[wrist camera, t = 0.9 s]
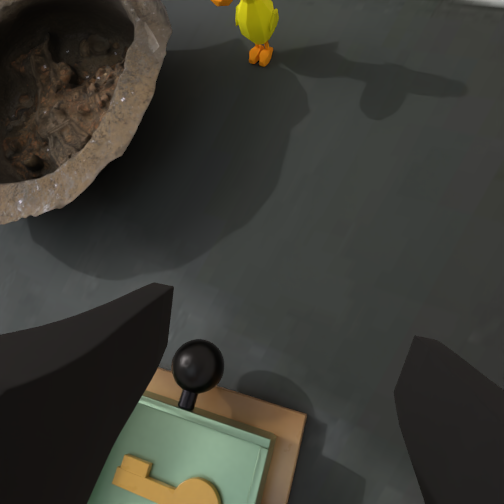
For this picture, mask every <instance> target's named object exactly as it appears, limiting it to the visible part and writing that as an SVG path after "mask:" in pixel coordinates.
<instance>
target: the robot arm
mask: <svg viewBox="0 0 504 504" xmlns="http://www.w3.org/2000/svg"><path fill="white" fill-rule="evenodd" d="M173 290H174V287H173V286H168V285H164V284H159V283H151V284H149V285H146V286H144V287H142V288H140V289H137V290H135V291H133V292H131V293H129V294H127V295H124V296H122V297H120V298H118V299H115V300H113V301H111V302H109V303H106V304H104V305H101V306H99V307H96V308H94V309H91V310H89V311H86V312H84V313H81V314H78V315H76V316H73V317H70V318H67V319H63V320H60V321H57V322H53V323H50V324H46V325H43V326H39V327H35V328H30V329H26V330H21V331H16V332H12V333H7V334H2V335H0V504H87V503H88V500H89V498H90V496H91V493H92V491H93V489H94V487H95V484H96V482H97V480H98V478H99V476H100V473H101V471H102V469H103V467H104V465H105V462H106V460H107V458H108V456H109V454H110V452H111V449H112V447H113V446H114V444H115V442H116V440H117V438H118V436H119V434H120V433H121V431H122V429H123V427H124V426H125V424H126V422H127V421H128V419H129V417H130V416H131V414H132V412H133V410H134V409H135V407H136V405H137V404H138V402H139V400H140V399H141V397H142V395H143V394H144V392H145V390H146V388H147V387H148V385H149V383H150V381H151V380H152V378H153V376H154V374H155V373H156V371H157V368H158V366H159V364H160V361H161V359H162V356H163V354H164V351H165V349H166V347H167V343H168V334H169V325H170V316H171V307H172V299H173ZM394 397H395V403H396V410H397V415H398V420H399V425H400V428H401V431H402V434H403V437H404V440H405V444H406V447H407V450H408V453H409V456H410V459H411V462H412V465H413V468H414V471H415V474H416V477H417V480H418V483H419V486H420V489H421V492H422V495H423V498H424V501H425V504H504V390H502V389H501V388H500V387H498V386H497V385H496V384H495V383H493V382H492V381H491V380H489V379H488V378H487V377H485V376H484V375H483V374H482V373H480V372H479V371H478V370H476V369H475V368H474V367H473V366H471V365H470V364H469V363H467V362H466V361H465V360H464V359H462V358H461V357H460V356H458V355H457V354H456V353H454V352H453V351H452V350H450V349H449V348H448V347H446V346H445V345H443V344H442V343H440V342H438V341H437V340H434V339H429V338H424V337H419V336H414V339H413V342H412V344H411V347H410V350H409V352H408V355H407V358H406V360H405V363H404V366H403V368H402V371H401V374H400V376H399V379H398V382H397V384H396V387H395V390H394Z"/></svg>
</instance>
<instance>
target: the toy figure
mask: <svg viewBox="0 0 504 504" xmlns="http://www.w3.org/2000/svg"><path fill="white" fill-rule="evenodd" d="M211 1H212V2H213V3H214V4H215V5H216V6H228V5H230V3H231V2H232V1H233V0H211ZM278 20H279V16H278V9H274V8H273V3H272V1H271V0H241V1H240V4H239V5H238V6H236V19H235V21H236V26H237V25H238V24H239V27H240V31H241V34H242V35H243V36H245V37H246V38H248V39H249V40H251V41H252V42H254V43H255V47H254V48H252V49H251V50H250V52H249V56H250V57H249V62H250V63H251V64H255V63H256V62H257V61H258V60H259V59H260V60H259V65H260V66H264V67H265V66H266V65H267V64H268V63H269V62H270V60H271V56H272V52H273V48H272V47H269V43H268V40H269V39H270V37H271V36H272V34H273V32H274V30H275V28H276V26H277V22H278ZM259 44H264V45H265V49H264V46H262V45H259Z"/></svg>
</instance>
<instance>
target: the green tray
mask: <svg viewBox="0 0 504 504" xmlns="http://www.w3.org/2000/svg"><path fill="white" fill-rule="evenodd" d="M223 372H224V359H223V356H222V354H221V352H220V350H219V349H218V348H217V347H216V346H215V345H214V344H213V343H211V342H209V341H206V340H201V339H196V340H191V341H189V342H187V343H185V344H183V345H182V346H181V347H180V348H179V349H178V350H177V352H176V353H175V355H174V357H173V360H172V375H173V378H174V380H175V382H176V383H177V385H178V386H179V387H180V388H182V392H181V396H180V399H179V401H177V400H174V399H171V398H168V397H165V396H162V395H159V394H156V393H153V392H150V391H147V390H145V392H144V394H143V395H142V397H141V399H140V400H139V402H138V404H137V405H136V407H135V409H134V410H133V412H132V414H131V416H130V417H129V419H128V421H127V422H126V424H125V426H124V427H123V429H122V431H121V433H120V434H119V436H118V438H117V440H116V442H115V444H114V446H113V447H112V449H111V452H110V454H109V456H108V458H107V460H106V462H105V465H104V467H103V469H102V471H101V473H100V476H99V478H98V480H97V482H96V484H95V487H94V489H93V491H92V493H91V496H90V498H89V500H88V503H87V504H158V503H155V502H153V501H151V500H148V499H146V498H144V497H141V496H139V495H137V494H134V493H132V492H130V491H127V490H125V489H123V488H120V487H118V486H116V485H113V484H112V481H113V478H114V475H115V472H116V469H117V467H118V466H121V464H122V461H123V458H124V455H125V454H131V455H133V456H136V457H138V458H141V459H143V460H146V461H148V462H151V463H152V467H151V470H150V474H149V477H151V478H154V479H156V480H159V481H161V482H164V483H166V484H168V485H171V486H173V487H176V488H177V487H178V485H180V484H181V483H182V482H183V481H185V480H187V479H189V478H193V477H200V478H204V479H206V480H208V481H209V482H211V483H212V484H213V485H214V486H215V488H216V489H217V491H218V493H219V496H220V499H221V504H261V500H262V496H263V492H264V488H265V483H266V479H267V475H268V471H269V467H270V463H271V458H272V454H273V450H274V444H275V442H276V438H277V436H276V435H274V433H271V432H268V431H265V430H263V429H260V428H257V427H254V426H251V425H248V424H245V423H242V422H239V421H236V420H233V419H230V418H227V417H224V416H221V415H218V414H215V413H212V412H209V411H206V410H203V409H200V408H197V407H195V404H196V400H197V397H198V394H200V393H205V392H208V391H209V390H211V389H213V388H214V387H215V386H216V385H217V384H218V383H219V381H220V380H221V378H222V375H223Z"/></svg>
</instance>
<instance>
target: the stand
mask: <svg viewBox="0 0 504 504" xmlns="http://www.w3.org/2000/svg"><path fill="white" fill-rule="evenodd" d="M146 390H147V391H150V392H153V393H156V394H159V395H162V396H165V397H168V398H171V399H174V400H177V401H179V399H180V396H181V392H182V388H180V387H179V386H178V385H177V383H176V382H175V380H174V378H173V375H172V371H169V370H166V369H162V368H159V367H158V368H157V371H156V373H155V374H154V376H153V378H152V380H151V381H150V383H149V385H148V387H147V388H146ZM195 407H197V408H200V409H203V410H206V411H209V412H212V413H215V414H218V415H221V416H224V417H227V418H230V419H233V420H236V421H239V422H242V423H245V424H248V425H251V426H254V427H257V428H260V429H263V430H265V431H268V432H271V433H274V435H276V436H277V438H276V442H275V444H274V450H273V454H272V458H271V463H270V467H269V471H268V475H267V479H266V483H265V488H264V492H263V496H262V500H261V504H288V500H289V495H290V491H291V486H292V482H293V477H294V473H295V468H296V464H297V459H298V455H299V450H300V446H301V441H302V437H303V433H304V428H305V424H306V419H307V414H305V413H302V412H299V411H296V410H293V409H290V408H286V407H283V406H280V405H277V404H274V403H270V402H267V401H264V400H261V399H258V398H255V397H251V396H248V395H245V394H242V393H239V392H236V391H232V390H229V389H226V388H223V387H220V386H215V387H214V388H213V389H211V390H209V391H208V392H205V393H200V394H198V397H197V400H196V404H195Z"/></svg>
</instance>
